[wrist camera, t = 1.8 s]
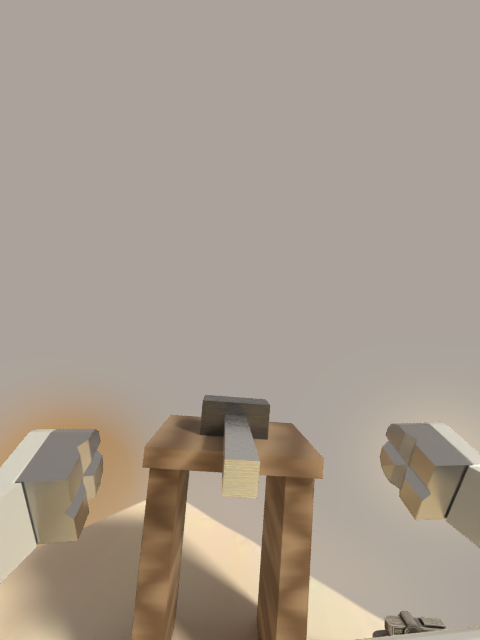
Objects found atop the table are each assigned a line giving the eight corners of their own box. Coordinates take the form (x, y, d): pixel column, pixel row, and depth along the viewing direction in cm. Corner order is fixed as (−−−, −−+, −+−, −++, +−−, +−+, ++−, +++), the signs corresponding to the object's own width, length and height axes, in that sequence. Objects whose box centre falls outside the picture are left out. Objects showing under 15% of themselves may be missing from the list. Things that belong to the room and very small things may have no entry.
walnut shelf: (111, 746, 26) (144, 446, 29) (151, 608, 40) (171, 414, 43) (309, 751, 27) (323, 458, 30) (280, 614, 41) (292, 423, 44)
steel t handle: (182, 494, 20) (187, 434, 21) (202, 426, 38) (205, 395, 38) (296, 501, 20) (299, 442, 21) (263, 430, 38) (265, 399, 39)
